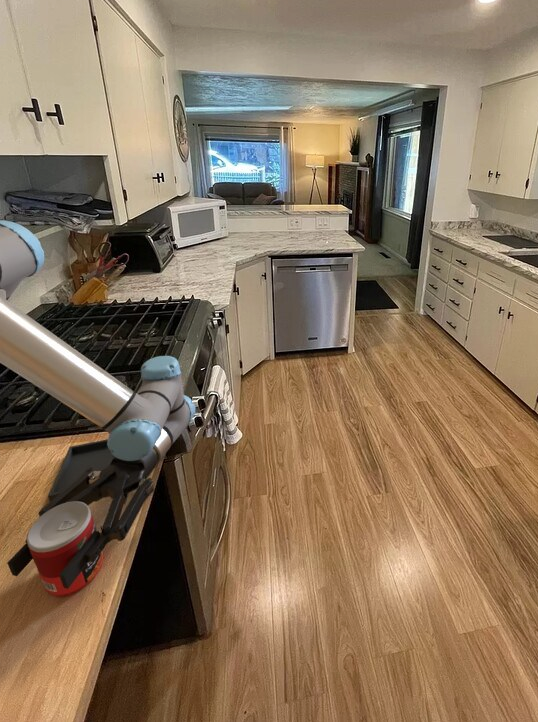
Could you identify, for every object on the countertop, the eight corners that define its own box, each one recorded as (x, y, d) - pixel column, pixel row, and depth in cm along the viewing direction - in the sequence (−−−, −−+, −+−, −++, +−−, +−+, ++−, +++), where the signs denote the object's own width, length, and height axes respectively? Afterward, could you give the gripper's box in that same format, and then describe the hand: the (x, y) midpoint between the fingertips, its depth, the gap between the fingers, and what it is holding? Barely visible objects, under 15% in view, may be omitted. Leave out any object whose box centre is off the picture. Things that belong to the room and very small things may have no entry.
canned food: (100, 586, 56) (84, 537, 52) (38, 608, 53) (16, 558, 49) (108, 540, 62) (94, 494, 58) (53, 557, 59) (35, 510, 56)
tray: (50, 504, 69) (47, 496, 68) (71, 453, 80) (69, 446, 80) (126, 486, 73) (125, 478, 72) (136, 440, 84) (135, 433, 84)
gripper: (191, 476, 71) (107, 608, 50) (100, 460, 75) (-15, 578, 54) (186, 446, 69) (95, 573, 48) (92, 432, 72) (-31, 543, 51)
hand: (37, 575), depth 51 cm, fingers closed on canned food, 8 cm apart
